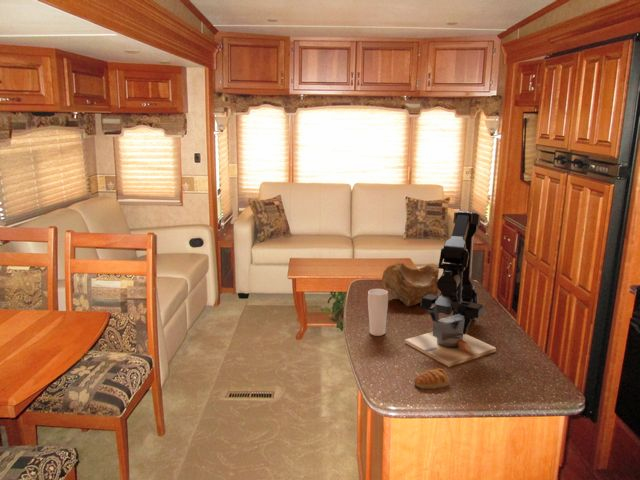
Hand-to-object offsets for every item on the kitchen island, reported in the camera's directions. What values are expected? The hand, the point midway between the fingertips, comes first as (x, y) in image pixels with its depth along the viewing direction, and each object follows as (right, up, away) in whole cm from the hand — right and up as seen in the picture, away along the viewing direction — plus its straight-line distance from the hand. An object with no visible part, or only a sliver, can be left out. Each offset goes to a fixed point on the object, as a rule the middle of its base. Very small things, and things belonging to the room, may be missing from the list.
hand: (450, 331), depth 168 cm
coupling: (+1, -4, 0) cm, 4 cm away
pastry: (-10, -11, -21) cm, 26 cm away
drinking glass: (-22, -3, +13) cm, 25 cm away
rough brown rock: (-4, +4, +43) cm, 43 cm away
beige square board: (0, -5, +1) cm, 6 cm away
